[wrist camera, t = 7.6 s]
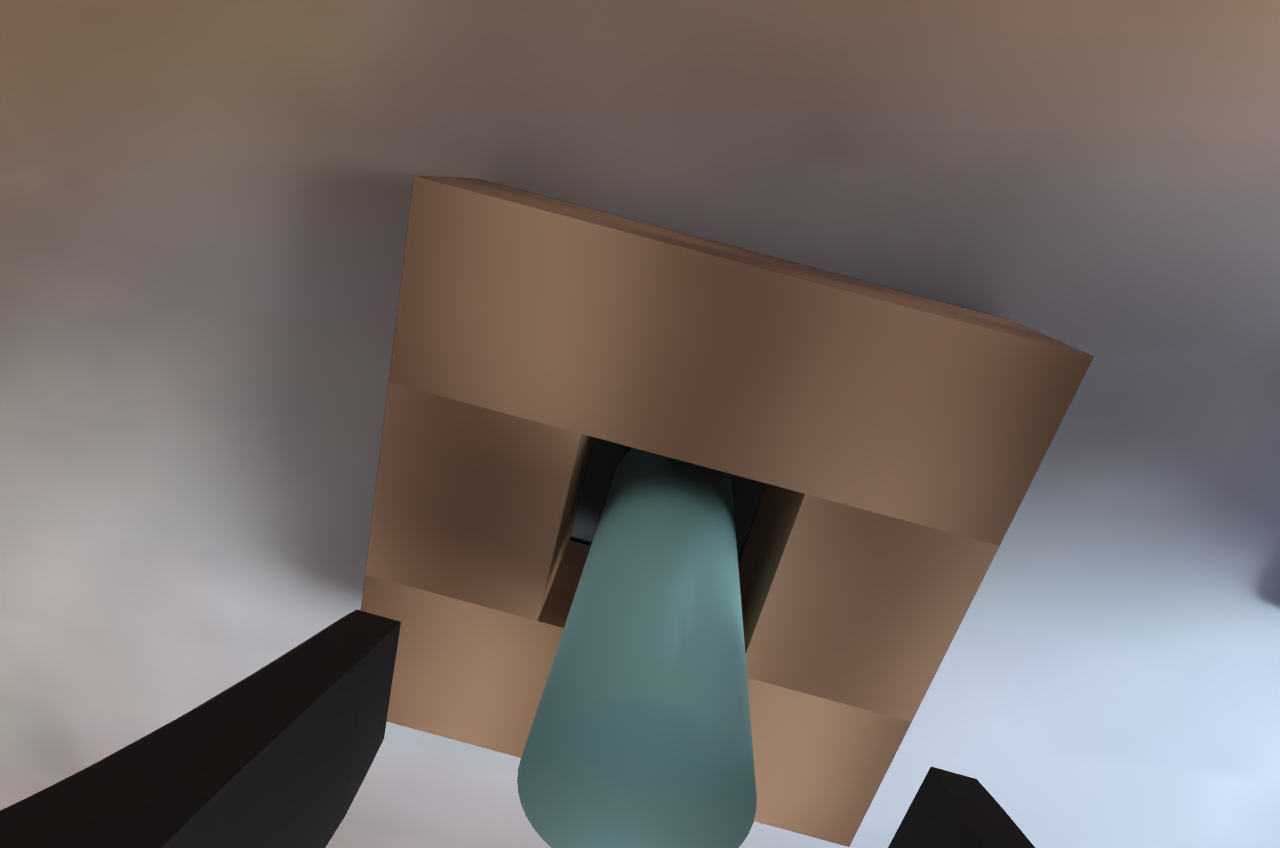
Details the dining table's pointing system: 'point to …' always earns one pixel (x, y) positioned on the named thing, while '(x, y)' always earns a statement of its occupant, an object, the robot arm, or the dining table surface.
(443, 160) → the dining table surface
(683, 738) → the peg
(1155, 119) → the dining table surface
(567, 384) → the socket block
